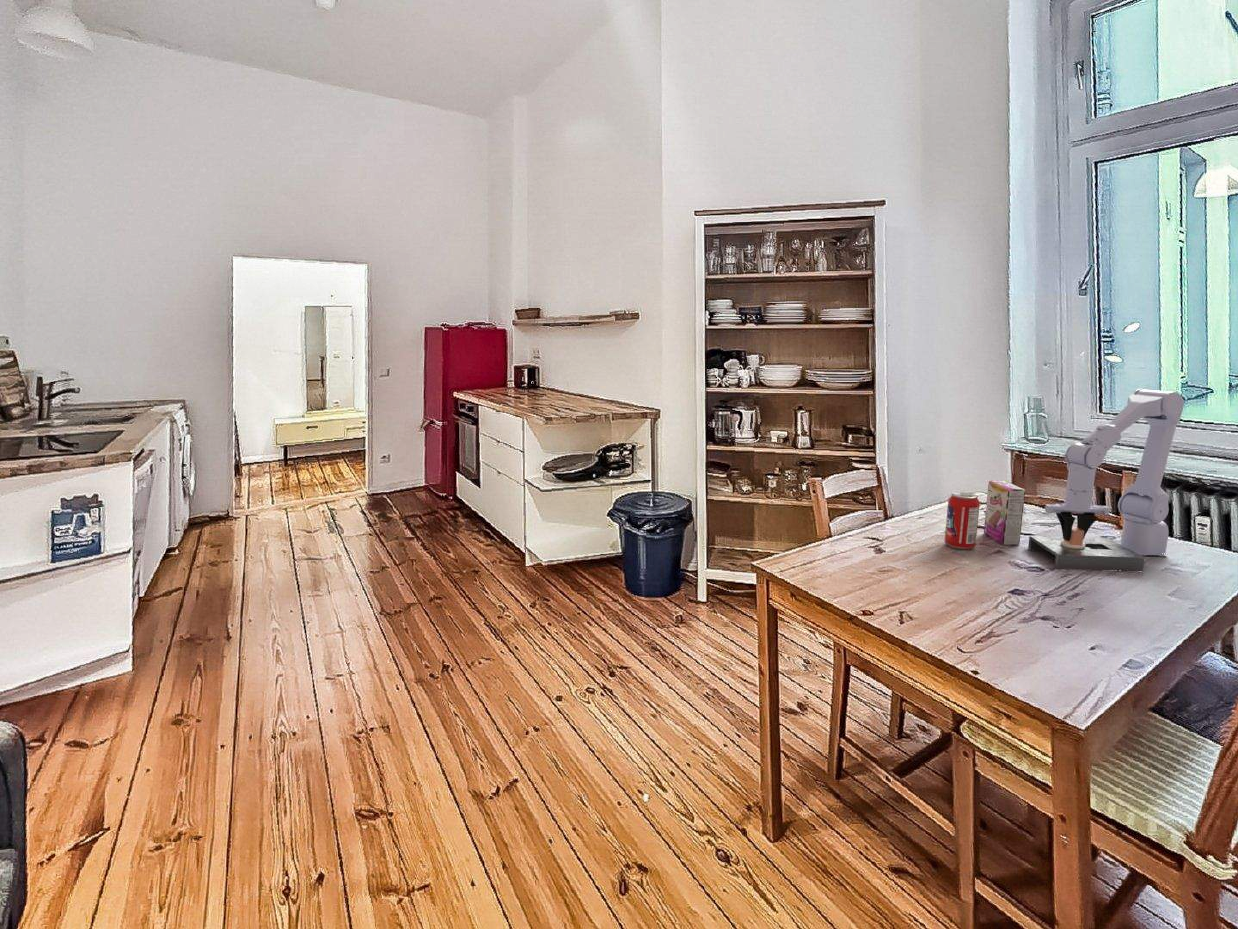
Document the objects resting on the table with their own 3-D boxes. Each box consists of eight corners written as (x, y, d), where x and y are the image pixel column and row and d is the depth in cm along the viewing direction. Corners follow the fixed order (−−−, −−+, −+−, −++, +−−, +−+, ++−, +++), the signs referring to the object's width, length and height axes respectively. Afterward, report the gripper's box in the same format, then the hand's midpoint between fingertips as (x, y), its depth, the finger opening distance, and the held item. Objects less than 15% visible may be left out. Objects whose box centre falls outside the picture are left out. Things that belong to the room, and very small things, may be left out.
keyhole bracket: (1106, 551, 183) (1108, 538, 183) (1142, 572, 168) (1145, 557, 167) (1028, 548, 186) (1029, 535, 185) (1056, 568, 170) (1058, 554, 170)
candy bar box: (982, 533, 200) (987, 480, 197) (998, 533, 200) (1004, 480, 196) (1002, 545, 189) (1008, 489, 186) (1020, 545, 189) (1026, 489, 186)
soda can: (972, 552, 183) (977, 499, 180) (941, 547, 188) (946, 495, 185) (977, 545, 189) (982, 493, 186) (947, 540, 194) (952, 490, 191)
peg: (1077, 551, 179) (1080, 525, 178) (1088, 558, 174) (1091, 531, 172) (1055, 550, 180) (1058, 525, 178) (1065, 557, 175) (1069, 531, 173)
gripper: (1101, 486, 176) (1094, 536, 179) (1042, 485, 178) (1036, 534, 181) (1116, 493, 170) (1109, 544, 172) (1055, 491, 172) (1048, 542, 174)
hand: (1072, 539), depth 176 cm, fingers closed on peg, 3 cm apart
